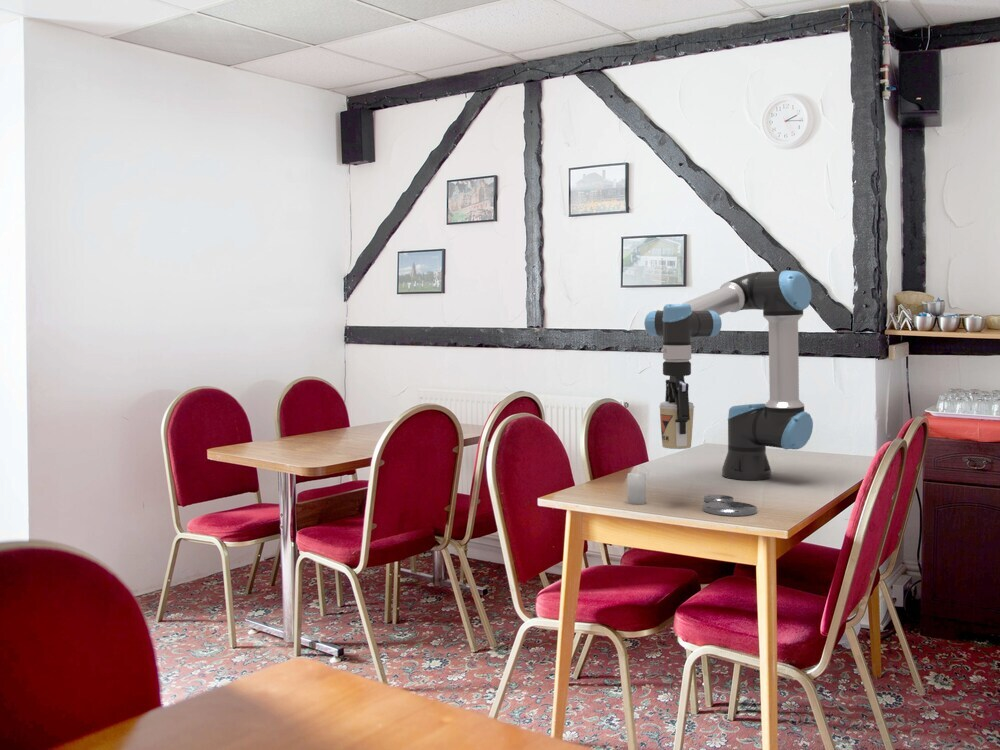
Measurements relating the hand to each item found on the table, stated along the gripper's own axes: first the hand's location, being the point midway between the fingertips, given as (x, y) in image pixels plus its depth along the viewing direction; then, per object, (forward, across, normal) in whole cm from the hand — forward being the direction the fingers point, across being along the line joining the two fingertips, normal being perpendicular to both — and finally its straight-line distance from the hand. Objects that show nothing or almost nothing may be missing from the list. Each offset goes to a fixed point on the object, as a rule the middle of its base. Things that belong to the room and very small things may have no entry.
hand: (676, 443), depth 252 cm
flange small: (+17, -3, +13) cm, 21 cm away
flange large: (+17, +9, +12) cm, 23 cm away
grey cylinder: (+17, -4, -10) cm, 20 cm away
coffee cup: (+1, 0, 0) cm, 1 cm away
